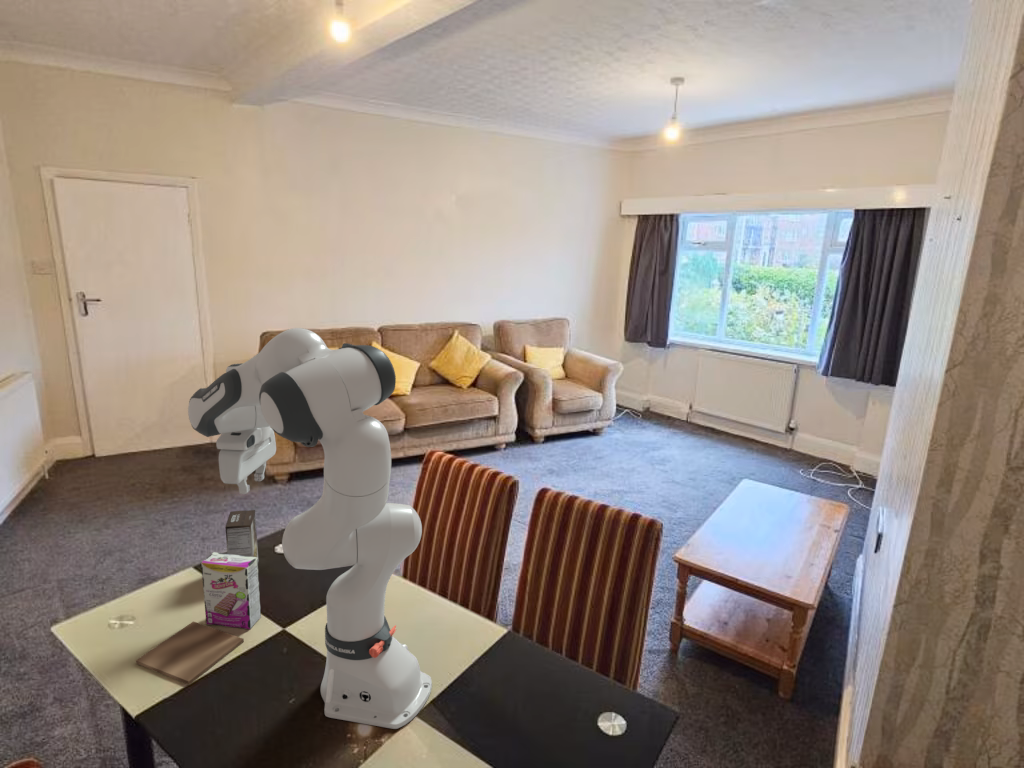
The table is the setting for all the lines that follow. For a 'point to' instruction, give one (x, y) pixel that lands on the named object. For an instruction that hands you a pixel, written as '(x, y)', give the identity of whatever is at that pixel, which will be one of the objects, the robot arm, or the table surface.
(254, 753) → the table surface
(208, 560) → the candy bar box
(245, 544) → the coffee box
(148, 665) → the board
